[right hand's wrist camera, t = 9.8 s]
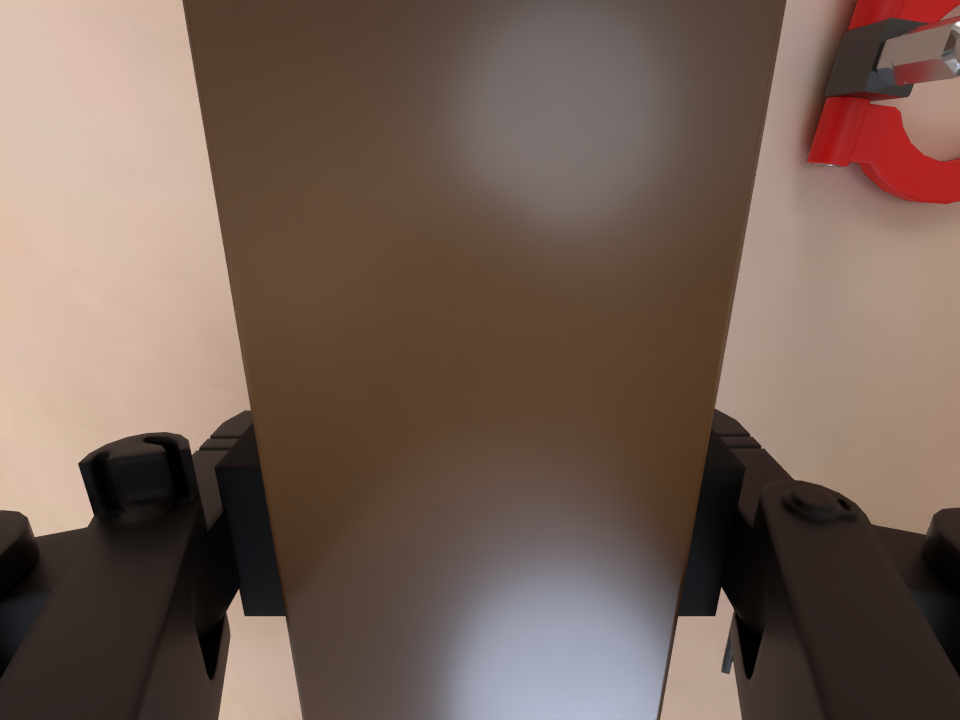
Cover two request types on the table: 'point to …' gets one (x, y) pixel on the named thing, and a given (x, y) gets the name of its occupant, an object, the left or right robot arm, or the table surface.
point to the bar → (483, 329)
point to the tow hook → (889, 96)
